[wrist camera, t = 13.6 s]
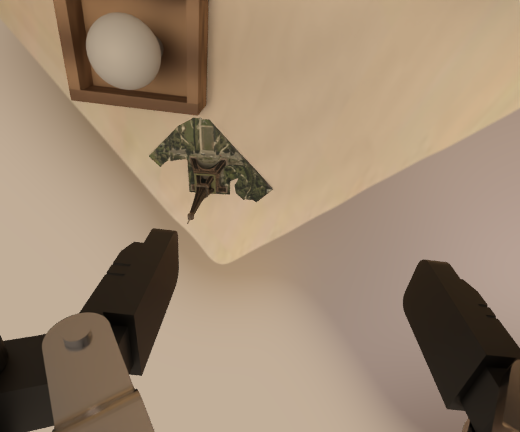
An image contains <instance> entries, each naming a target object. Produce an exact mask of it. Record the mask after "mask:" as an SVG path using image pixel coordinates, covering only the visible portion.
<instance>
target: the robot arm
mask: <svg viewBox="0 0 520 432" xmlns="http://www.w3.org/2000/svg"><path fill="white" fill-rule="evenodd" d="M178 270H179V261H178V234H177V231H172V230H162V229H152V230H151V232H150V233H149V235H148V237H147V238H146V240H145V242H144V243H140V242H134V243H132V244H130V245H129V246H128V247H126V248H125V249H124V250H122V251H121V252H120V253H119V255H118V256H117V258H116V259H115V261H114V262H113V265H111V267H110V268H109V270H108V271H107V274H106V275H105V276H104V277H103V279H102V280H101V282H100V283H99V285H98V286H97V288H96V289H95V291H94V292H93V293H92V295H91V296H90V298H89V299H88V301H87V302H86V304H85V305H84V307H83V308H82V310H81V312H80V313H78V314H75V315H71V316H69V317H66V318H65V319H63V320H61V321H60V322H58V323H56V324H55V325H54V326H53V327H52V328H51V329H50V330H49V331H48V333H47V334H43V335H38V336H32V337H26V338H20V339H13V340H7V341H3V340H2V338H1V336H0V432H28V431H33V430H37V429H41V428H46V427H50V426H54V430H53V431H52V432H154V429H153V427H152V424H151V421H150V418H149V416H148V413H147V411H146V408H145V405H144V403H143V400H142V398H141V396H140V393H139V391H138V390H137V389H134V387H133V384H132V382H131V379H130V376H129V374H131V375H140V376H142V374H143V371H144V368H145V366H146V363H147V361H148V358H149V355H150V353H151V350H152V347H153V345H154V342H155V339H156V337H157V334H158V331H159V329H160V326H161V324H162V321H163V318H164V315H165V313H166V310H167V308H168V305H169V302H170V300H171V297H172V294H173V292H174V289H175V286H176V283H177V278H178ZM403 308H404V312H405V315H406V317H407V319H408V321H409V324H410V326H411V328H412V330H413V333H414V335H415V337H416V340H417V342H418V344H419V346H420V349H421V351H422V353H423V355H424V358H425V360H426V362H427V365H428V367H429V369H430V371H431V374H432V376H433V378H434V381H435V383H436V385H437V387H438V390H439V392H440V394H441V396H442V399H443V401H444V403H445V405H446V408H447V409H452V410H462V411H466V414H467V415H468V420H467V421H466V422H465V424H464V426H463V429H462V432H520V348H519V347H518V345H517V344H516V343H515V341H514V340H513V338H512V337H511V336H510V334H509V333H508V332H507V330H506V329H505V328H504V326H503V325H502V324H501V322H500V321H499V320H498V319H496V316H495V314H494V313H493V312H492V310H491V309H490V308H489V307H487V303H486V302H485V301H484V300H483V298H482V297H481V295H480V294H479V293H478V291H476V290H475V289H474V288H473V287H471V286H470V285H469V284H468V283H467V282H465V281H464V280H463V279H460V278H459V277H458V275H457V274H456V272H455V271H454V269H453V268H452V267H451V265H450V264H448V263H447V262H440V261H431V260H422V261H420V262H419V263H418V265H417V267H416V269H415V272H414V274H413V276H412V278H411V280H410V282H409V285H408V287H407V289H406V291H405V294H404V297H403Z"/></svg>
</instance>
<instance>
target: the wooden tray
mask: <svg viewBox="0 0 520 432" xmlns="http://www.w3.org/2000/svg"><path fill="white" fill-rule="evenodd" d="M53 2H54V8H55V13H56V19H57V24H58V30H59V35H60V41H61V46H62V52H63V57H64V63H65V68H66V74H67V79H68V85H69V90H70V96H71V100H74V101H82V102H90V103H99V104H107V105H115V106H124V107H132V108H140V109H149V110H157V111H165V112H174V113H182V114H191V115H199V113H200V112H201V111H202V110H203V108H204V107H205V106H206V87H207V42H208V0H53ZM114 12H119V13H127V14H130V15H133V16H134V17H136V18H138V19H140V20H141V21H142V22H143V23H145V24H146V25H147V26H148V27H149V28H150V29H151V31H152V32H153V33H154V35H155V36H156V37H158V38H159V39H160V40H161V42H162V44H163V48H164V51H163V55H162V57H161V64H160V68H159V71H158V73H157V75H156V77H155V78H154V80H153V81H152V82H151V83H150V84H148V85H146V86H145V87H143V88H140V89H136V90H125V89H120V88H117V87H114V86H112V85H110V84H108V83H107V82H106V81H104V80H103V79H102V78H101V77H100V76H99V75H98V74H97V73H96V72H95V70H94V69H93V67H92V65H91V63H90V61H89V59H88V56H87V51H86V38H87V34H88V32H89V29H90V27H91V26H92V24H93V23H94V22H95V21H96V20H97V19H98V18H100V17H101V16H103V15H106V14H108V13H114Z"/></svg>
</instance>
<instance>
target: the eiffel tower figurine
mask: <svg viewBox="0 0 520 432" xmlns="http://www.w3.org/2000/svg"><path fill="white" fill-rule="evenodd" d="M149 157H150V158H151V159H152V160H154V161H155V162H156V163H157V164H158V165H159V166H160V167H161V166H162V165H163V164H164V163H165V162H167V161H173V160H179V159H180V160H182V159H187V160H188V173H189V190H190V192H195V193H196V194H195V198H194V201H193V205H192V208H191V211H190V213H189V214H188V220H193V219H194V214H195V212H196V211H197V209H198V207H199V206H200V204H201V202H202V201H203V200H204V198H206V197H208V195H210V194H230V181H232V180H234V179H236V178H238V181H237V183H236V184H235V191H236V194H238V195H239V196H240V197H241V198H242V199H243V200H245V199H248V200H254V201H255V202H257V201H259V200H260V199H261V198H262V197H264V196H265V195H266V194H268V193H269V192H270V191H272V190H273V189H272V188H271V187H270V186H269V185H268V184H267V182H266V181H265V180H264V179H263V178H262V177H261V176H260V175H259V173H258V172H257V171H256V170H255V169H254V168H253V167H252V166H251V165H250V164H249V163H248V162H247V161H246V160H245V159H244V157H243V156H242V155H241V154H240V153H239V152H238V151H237V150H236V149H235V148H234V147H233V146H232V145H231V143H230V142H229V141H228V140H227V139H226V138H225V137H224V136H223V135H222V134H221V132H220V131H219V130H218V129H217V128H216V127H215V126H214V125H213V123H212V122H211V121H210V120H207V119H202V118H192V119H191V120H189V121H187V122H185V123H183V124H182V125H179V126H178V127H177V128H176V129H175V130H174V131H173V132H172V133H171V134H170V135H169V136H168V137H167V138H166V139H165V140H164V141H163V142H162V143H161V144H160V145H159V146H158V148H157V149H156V150H155V151H154V152H153V153H152V154H151V155H150V156H149ZM188 222H189V221H188ZM187 224H188V223H187Z"/></svg>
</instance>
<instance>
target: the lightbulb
mask: <svg viewBox="0 0 520 432" xmlns="http://www.w3.org/2000/svg"><path fill="white" fill-rule="evenodd" d="M86 51H87V56H88V59H89V61H90V63H91V65H92V67H93V69H94V70H95V72H96V73H97V74H98V75H99V76H100V77H101V78H102V79H103V80H104V81H106V82H107V83H108V84H110V85H112V86H114V87H117V88H120V89H125V90H136V89H140V88H143V87H145V86H146V85H148V84H150V83H151V82H152V81H153V80H154V78H155V77H156V75H157V73H158V71H159V68H160V64H161V57H162V55H163V51H164V48H163V44H162V42H161V40H160V39H159V38H158V37H156V36H155V35H154V33H153V32H152V31H151V29H150V28H149V27H148V26H147V25H146V24H145V23H143V22H142V21H141V20H140V19H138V18H136V17H134V16H133V15H130V14H127V13H119V12H114V13H108V14H106V15H103V16H101V17H100V18H98V19H97V20H96V21H95V22H94V23H93V24H92V26H91V27H90V29H89V32H88V34H87V38H86Z"/></svg>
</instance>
